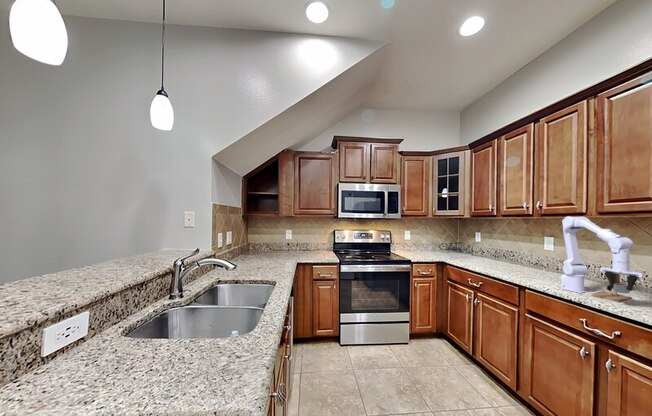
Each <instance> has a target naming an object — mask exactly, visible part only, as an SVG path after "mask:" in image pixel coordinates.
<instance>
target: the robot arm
mask: <svg viewBox="0 0 652 416" xmlns="http://www.w3.org/2000/svg"><path fill="white" fill-rule="evenodd" d="M561 221H562V223H561V224H562V234H563V239H564V240H563V241H564V245H565V252H566V258H567V259H565V260H564V261H562V262H563V267H562V270H563V271H562V272H564V274H562V275H561V277H560V283H561V284H560V286H561V287H560V289H561V290H565V291H569V292H573V293H579V294H583V293H588V290H585V277H586V275H588V272H589V271H588V268H587V266H586V263H585V261H583V260H582V259H581V258H580V250H579V245H578V240H577V234H576V233H578V231H580V230H582V229H587V230H588V231H591V232H592V233H595V234H596V237H597V238H599V239H600V240H602V241H603V242H605V243H607V245H608V246H609V248H610V251H611V257H612V259H611V261H612V264H611V265H612V267H611V268H610V267H599V270H600V272H602V273H603V274H604V276H605V278H606V279H607V280H608V283H609V285H610V286H611V287H612V288H613V283H615V274H620V275H624V276H626V279H627V285H628V291H630V292H632V291H633V288H634V285H635V284H636V283H637V281H638V280H639V278H644V276H645V275H644V273H643V272H638V271H637V272H636V271H632V270H630V269H631V268H630V266H631V265H630V249H631V248H633V246H634V243H633V240H631V238H629V237H626V236H625V237H622V236H621V235H620V234H617V233H615V232H613V231H612V229H610V228H601V227H600V226H598V225H597V224H595V223H594V222H592V221H591V220H590V219H589V218H587V217H586V216H583V215H582V216H569V215H568V216H565V217H564V218H563V219H561ZM617 272H618V273H617Z"/></svg>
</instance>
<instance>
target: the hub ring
mask: <svg viewBox="0 0 652 416" xmlns="http://www.w3.org/2000/svg"><path fill="white" fill-rule="evenodd" d="M613 291H615V292H617V293H618V294H619V293H620V294H628V295H629V294H631V291H628V284H626V283H621V282H620V283H613Z"/></svg>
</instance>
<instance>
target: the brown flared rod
mask: <svg viewBox="0 0 652 416" xmlns="http://www.w3.org/2000/svg"><path fill="white" fill-rule="evenodd" d="M610 264H611V265H612V260H611V261H610ZM617 273H618V272H617ZM615 283H620V284H621V274H615ZM612 289H613V288H612V287H611V286H610V284H608V285H606V290H607V291H609V292H612Z"/></svg>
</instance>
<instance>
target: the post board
mask: <svg viewBox="0 0 652 416" xmlns="http://www.w3.org/2000/svg"><path fill="white" fill-rule="evenodd" d="M590 296H591V297H596V298H598V297H599V298H598V299H604V300H608V301H613V302H616V303H622V302H626V301H629V300H633V297H632V296H629V295H624V294H621V293H620V294H619V293H618V292H615V291H613V289H612V291H609V292H608V291H606V290H605V291H604V290H603V291H599V292H594V293H591V294H590Z"/></svg>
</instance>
